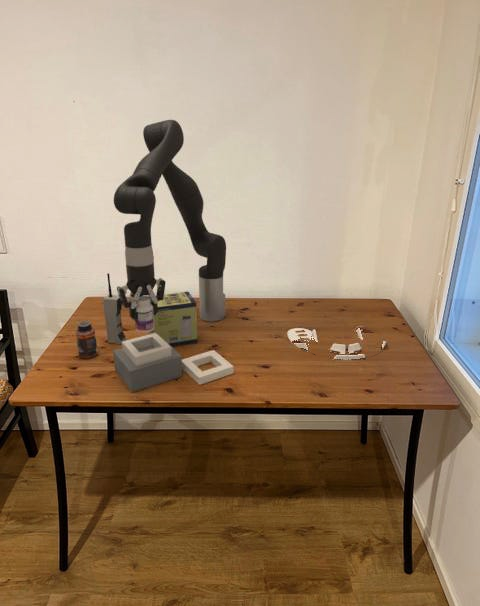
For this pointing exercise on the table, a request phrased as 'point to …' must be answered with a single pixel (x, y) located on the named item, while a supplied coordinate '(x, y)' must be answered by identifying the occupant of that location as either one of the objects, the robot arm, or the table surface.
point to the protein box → (176, 319)
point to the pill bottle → (144, 315)
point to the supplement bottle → (86, 340)
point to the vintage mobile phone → (113, 317)
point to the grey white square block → (147, 362)
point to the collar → (212, 374)
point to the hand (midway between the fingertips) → (144, 316)
